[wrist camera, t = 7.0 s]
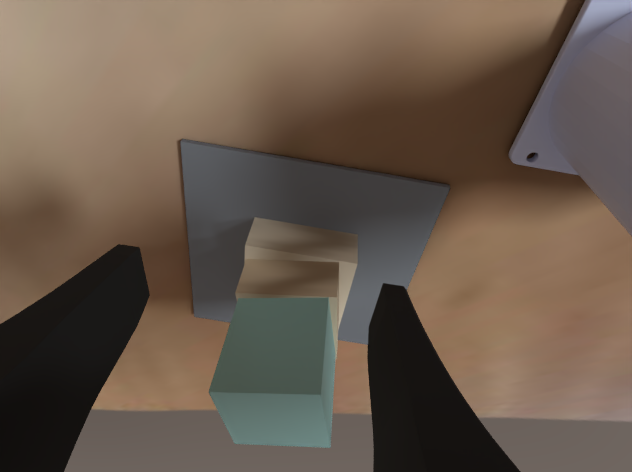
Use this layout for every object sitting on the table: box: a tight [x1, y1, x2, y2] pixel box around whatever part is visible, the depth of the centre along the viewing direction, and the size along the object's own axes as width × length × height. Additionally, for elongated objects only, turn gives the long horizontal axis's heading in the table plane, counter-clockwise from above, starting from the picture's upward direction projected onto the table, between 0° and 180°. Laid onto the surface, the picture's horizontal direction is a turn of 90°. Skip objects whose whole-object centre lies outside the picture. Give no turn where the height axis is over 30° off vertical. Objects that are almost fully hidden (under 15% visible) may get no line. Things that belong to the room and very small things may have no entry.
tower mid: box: [235, 259, 339, 359], centre depth 22 cm, size 5×5×2 cm
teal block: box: [209, 297, 336, 448], centre depth 19 cm, size 4×4×5 cm
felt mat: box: [180, 139, 450, 345], centre depth 25 cm, size 14×14×1 cm
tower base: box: [244, 217, 358, 329], centre depth 24 cm, size 6×6×2 cm
